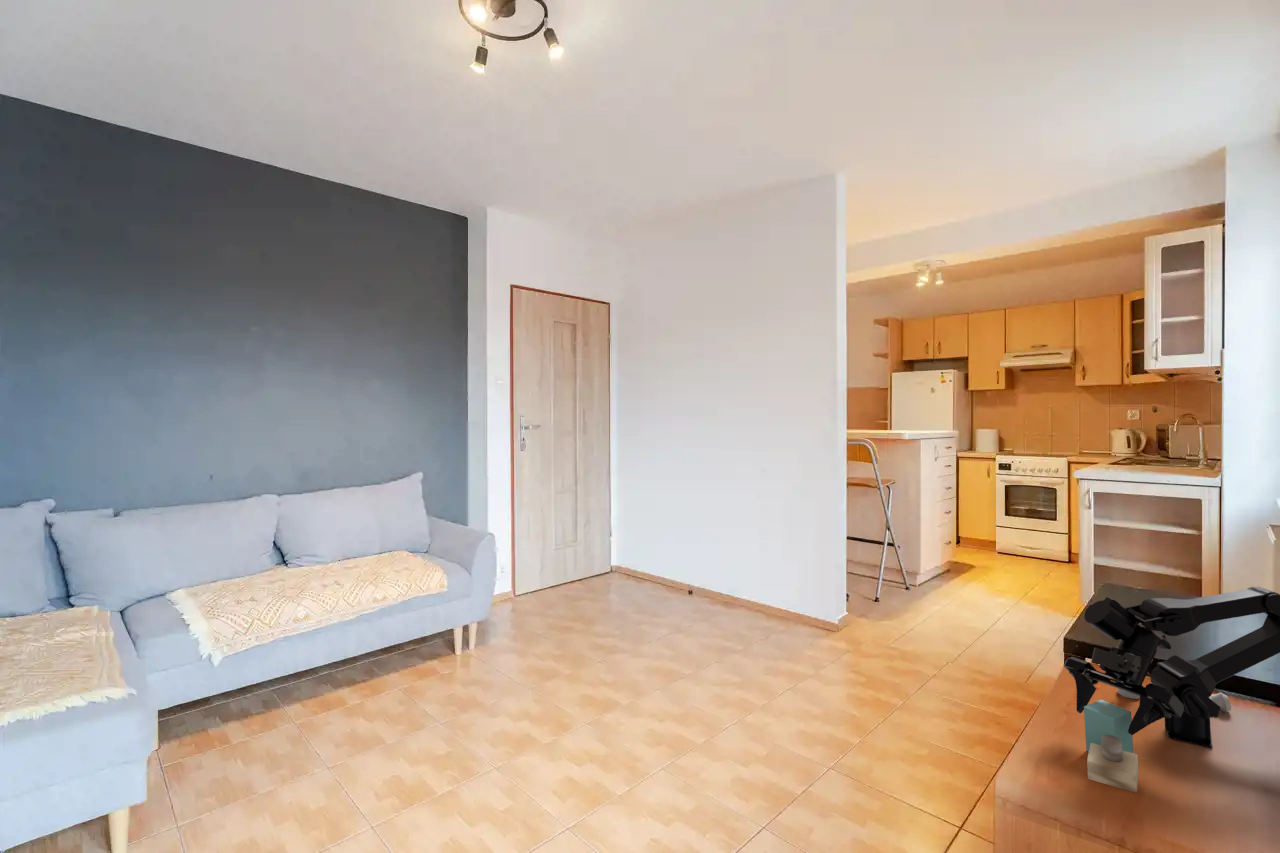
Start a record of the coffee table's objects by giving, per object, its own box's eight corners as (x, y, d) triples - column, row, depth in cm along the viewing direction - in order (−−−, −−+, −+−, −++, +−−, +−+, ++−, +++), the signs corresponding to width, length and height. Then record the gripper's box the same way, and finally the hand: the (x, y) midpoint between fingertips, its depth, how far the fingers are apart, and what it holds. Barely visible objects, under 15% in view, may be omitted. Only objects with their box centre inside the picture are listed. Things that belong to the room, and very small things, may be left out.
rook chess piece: (1143, 701, 135) (1141, 666, 135) (1118, 697, 138) (1116, 663, 137) (1140, 692, 139) (1138, 658, 139) (1115, 688, 141) (1114, 655, 141)
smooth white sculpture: (1181, 713, 131) (1180, 697, 135) (1232, 723, 126) (1230, 706, 130) (1180, 697, 130) (1179, 682, 134) (1231, 707, 125) (1229, 690, 129)
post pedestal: (1138, 772, 112) (1136, 736, 111) (1136, 792, 106) (1134, 754, 106) (1091, 760, 116) (1089, 725, 116) (1088, 778, 111) (1086, 742, 111)
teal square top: (1103, 742, 121) (1101, 699, 121) (1133, 756, 116) (1131, 711, 116) (1086, 750, 119) (1083, 706, 119) (1116, 764, 114) (1113, 718, 114)
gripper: (1066, 618, 127) (1035, 682, 124) (1171, 649, 110) (1139, 724, 106) (1092, 646, 131) (1062, 709, 127) (1198, 680, 113) (1167, 754, 110)
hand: (1103, 722), depth 117 cm, fingers open, 9 cm apart
